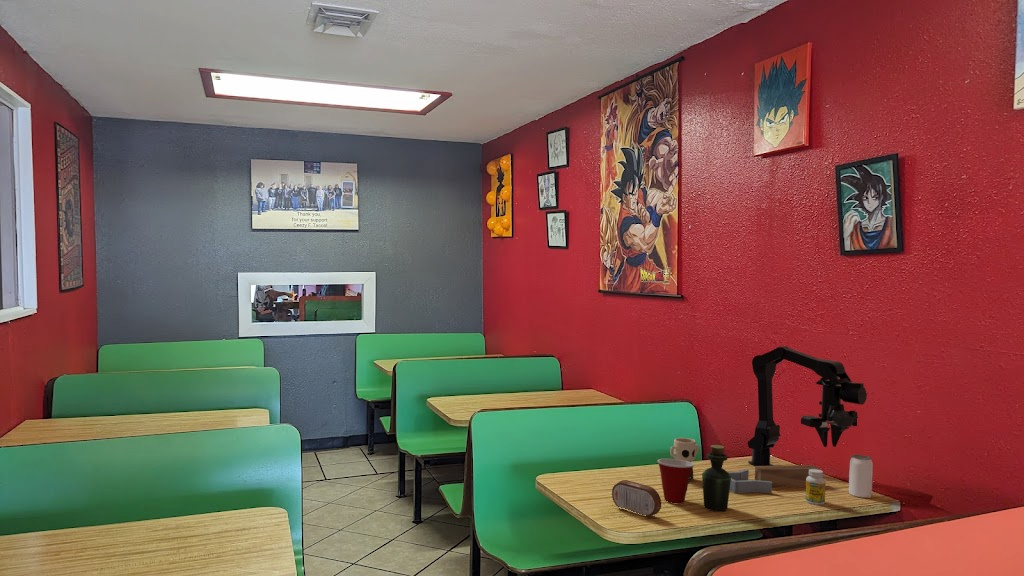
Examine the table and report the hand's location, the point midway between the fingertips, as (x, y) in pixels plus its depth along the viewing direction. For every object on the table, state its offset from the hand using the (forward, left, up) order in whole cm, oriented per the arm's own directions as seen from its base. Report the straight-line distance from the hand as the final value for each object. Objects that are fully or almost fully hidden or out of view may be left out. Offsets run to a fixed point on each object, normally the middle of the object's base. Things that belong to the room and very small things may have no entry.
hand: (829, 446), depth 233 cm
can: (+13, +2, -12) cm, 18 cm away
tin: (+17, -75, -12) cm, 78 cm away
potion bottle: (+17, -50, -12) cm, 55 cm away
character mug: (-11, -46, -12) cm, 49 cm away
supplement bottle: (+17, -17, -12) cm, 27 cm away
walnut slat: (0, -15, -12) cm, 20 cm away
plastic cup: (+9, -59, -12) cm, 61 cm away
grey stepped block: (0, -31, -12) cm, 34 cm away
